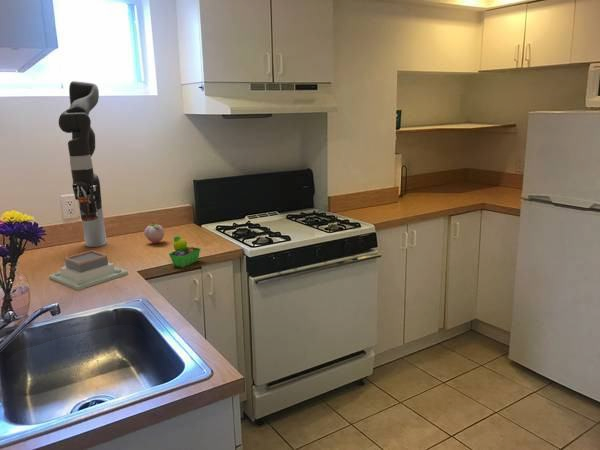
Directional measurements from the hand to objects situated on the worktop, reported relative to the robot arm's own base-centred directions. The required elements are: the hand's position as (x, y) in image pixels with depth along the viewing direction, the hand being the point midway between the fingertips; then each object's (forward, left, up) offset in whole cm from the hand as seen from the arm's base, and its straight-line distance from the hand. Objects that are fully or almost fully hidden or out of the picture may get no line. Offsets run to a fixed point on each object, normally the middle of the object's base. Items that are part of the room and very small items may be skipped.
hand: (88, 211), depth 186 cm
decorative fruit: (-15, +38, -25) cm, 47 cm away
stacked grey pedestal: (+1, -4, -24) cm, 25 cm away
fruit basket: (+20, +27, -25) cm, 42 cm away
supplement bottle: (0, 0, -3) cm, 3 cm away
